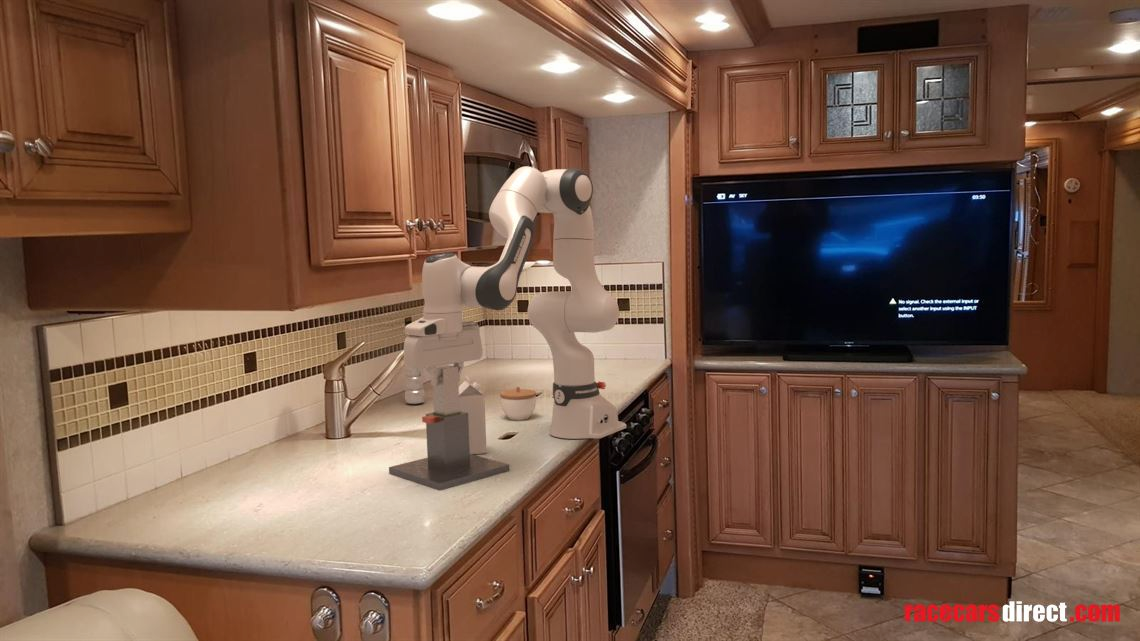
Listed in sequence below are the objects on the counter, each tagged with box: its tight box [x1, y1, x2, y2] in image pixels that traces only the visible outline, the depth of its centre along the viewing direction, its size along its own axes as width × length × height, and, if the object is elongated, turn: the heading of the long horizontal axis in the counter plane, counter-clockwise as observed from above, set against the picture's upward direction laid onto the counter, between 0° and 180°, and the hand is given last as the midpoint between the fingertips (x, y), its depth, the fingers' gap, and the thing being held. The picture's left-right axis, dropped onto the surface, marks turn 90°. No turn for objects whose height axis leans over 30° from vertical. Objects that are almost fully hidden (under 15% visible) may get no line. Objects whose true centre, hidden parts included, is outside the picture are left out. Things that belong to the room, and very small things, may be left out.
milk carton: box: [459, 375, 488, 455], centre depth 222 cm, size 7×7×19 cm
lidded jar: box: [499, 386, 537, 421], centre depth 261 cm, size 11×11×9 cm
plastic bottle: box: [404, 366, 426, 405], centre depth 284 cm, size 6×7×20 cm
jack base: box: [388, 411, 510, 491], centre depth 204 cm, size 20×20×14 cm
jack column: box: [432, 364, 460, 417], centre depth 203 cm, size 4×4×18 cm
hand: (445, 383), depth 203 cm, fingers closed on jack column, 4 cm apart
